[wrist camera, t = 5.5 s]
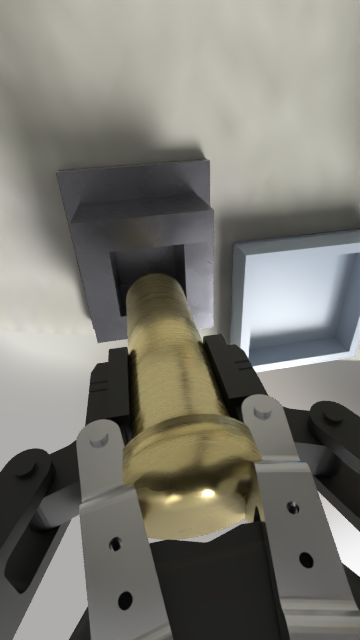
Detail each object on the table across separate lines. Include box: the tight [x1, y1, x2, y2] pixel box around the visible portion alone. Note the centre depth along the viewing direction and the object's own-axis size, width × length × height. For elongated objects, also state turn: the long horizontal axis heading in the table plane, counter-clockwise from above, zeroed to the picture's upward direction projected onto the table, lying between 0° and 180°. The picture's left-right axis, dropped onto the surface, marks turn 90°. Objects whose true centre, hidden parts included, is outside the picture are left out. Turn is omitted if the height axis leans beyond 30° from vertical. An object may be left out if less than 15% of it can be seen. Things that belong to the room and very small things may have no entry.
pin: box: [123, 273, 262, 540], centre depth 13 cm, size 4×4×11 cm
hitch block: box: [56, 159, 214, 343], centre depth 22 cm, size 12×10×6 cm
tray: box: [230, 229, 360, 372], centre depth 28 cm, size 12×12×3 cm
